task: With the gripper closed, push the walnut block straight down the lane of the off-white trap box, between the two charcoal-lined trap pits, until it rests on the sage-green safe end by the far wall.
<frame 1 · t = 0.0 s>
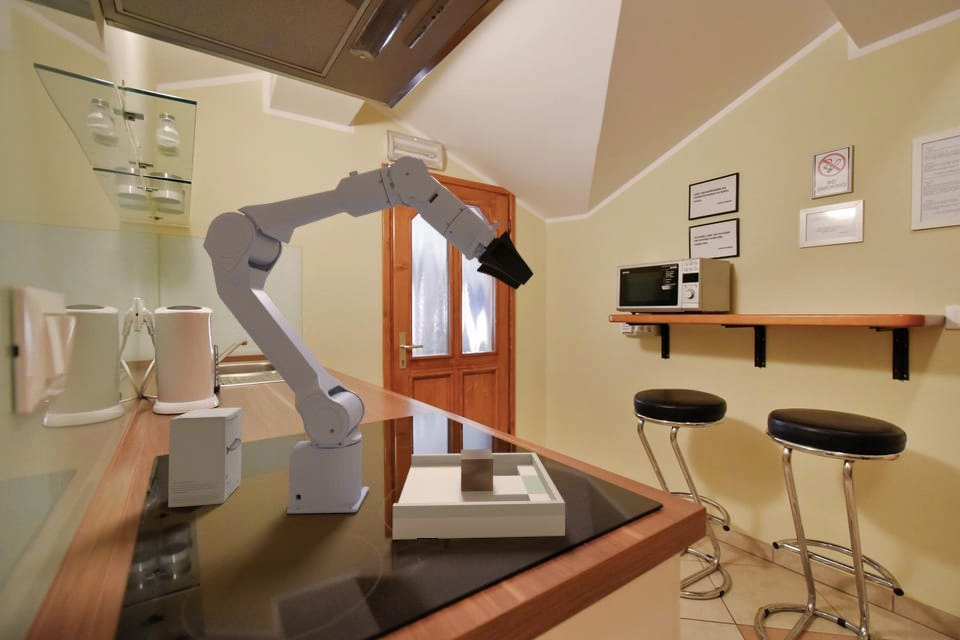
hand: (524, 282, 62), 32 cm above the worktop, tool tilted 50°, fingers open, 7 cm apart
supplement bottle: (328, 456, 82), on the worktop
walnut block: (476, 485, 60), point 2 cm above the worktop, touching trap box
supplement box: (207, 497, 62), on the worktop
trap box: (476, 502, 60), on the worktop
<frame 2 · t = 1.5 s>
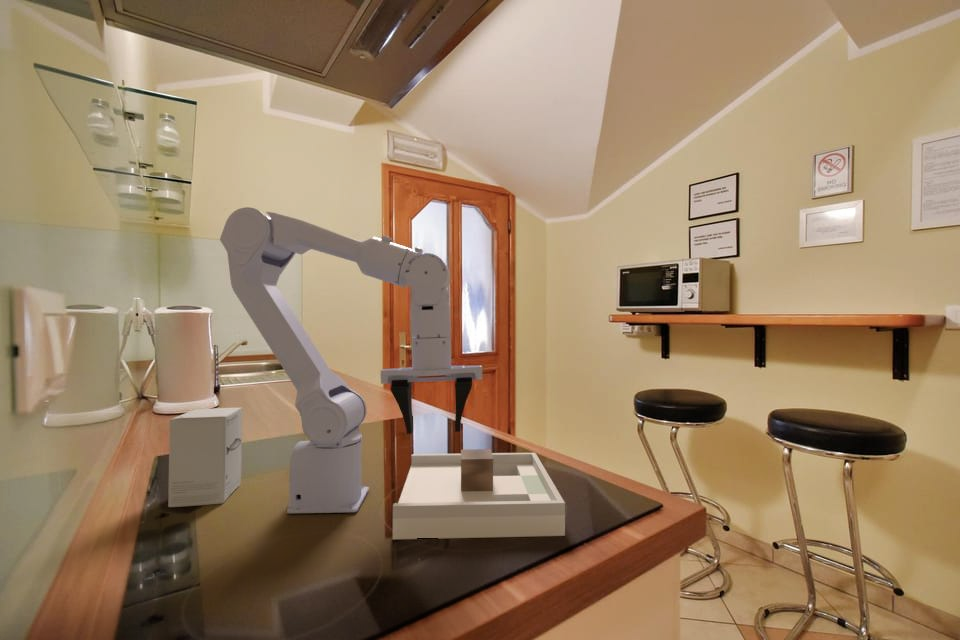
hand: (433, 431, 60), 10 cm above the worktop, tool pointing down, fingers open, 6 cm apart
nothing on the worktop moved.
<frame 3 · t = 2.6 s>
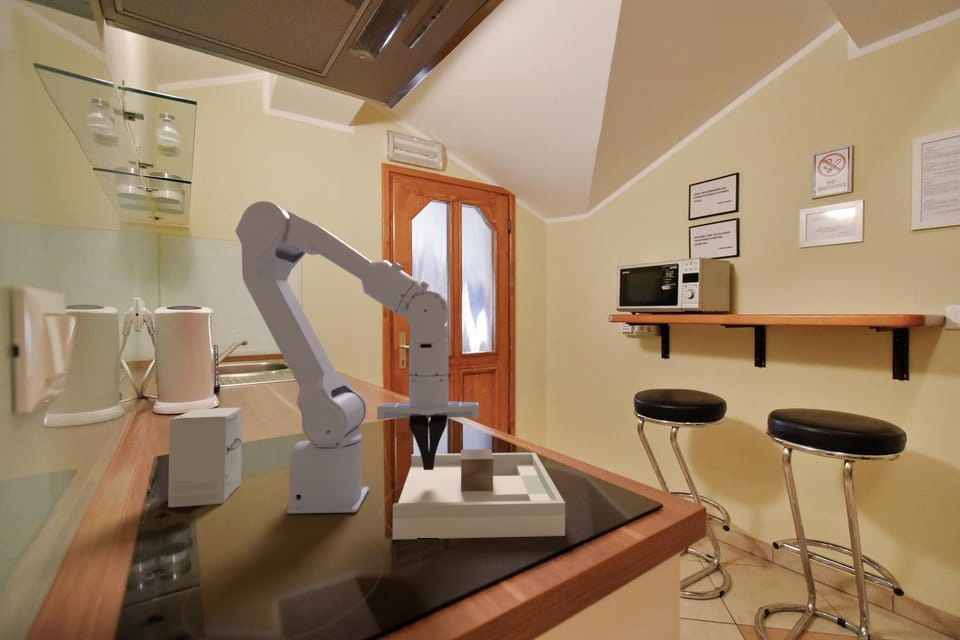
hand: (428, 467, 60), 5 cm above the worktop, tool pointing down, fingers closed
nothing on the worktop moved.
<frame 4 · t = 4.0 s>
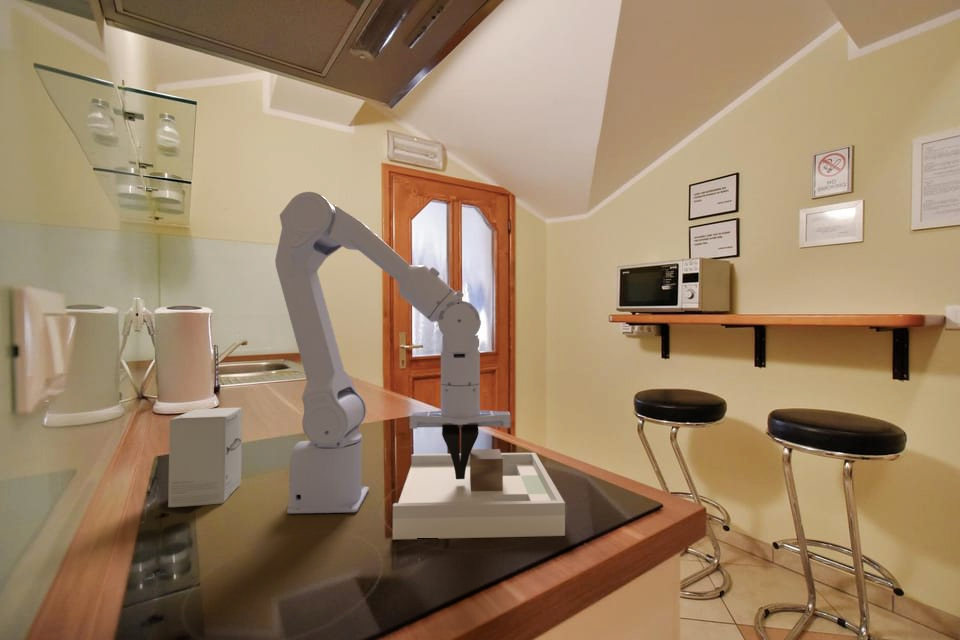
hand: (460, 476, 60), 4 cm above the worktop, tool pointing down, fingers closed
walnut block: (485, 484, 60), point 3 cm above the worktop, touching gripper
everything else where it was.
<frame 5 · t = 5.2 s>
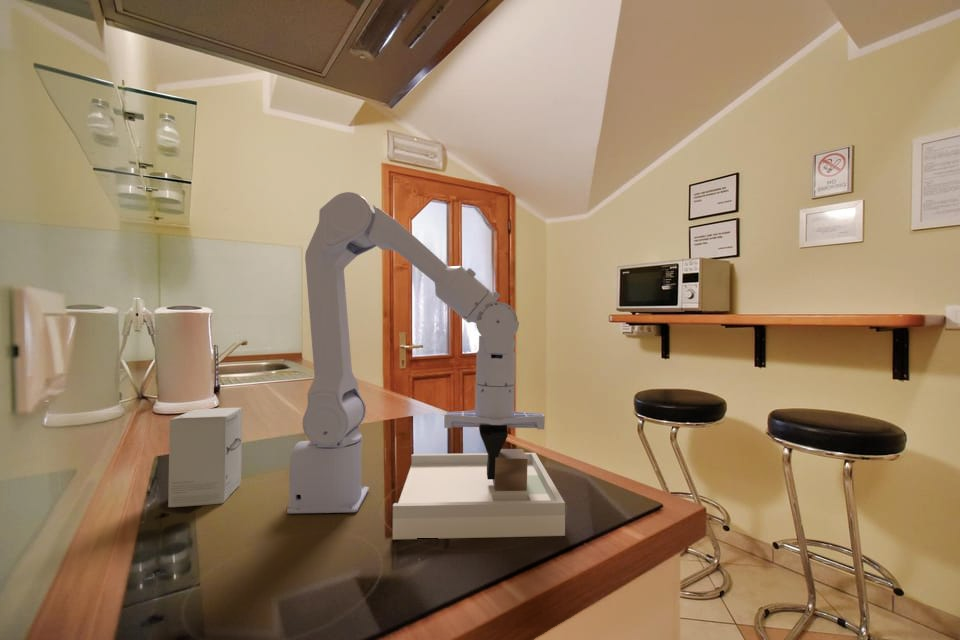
hand: (492, 477, 60), 4 cm above the worktop, tool pointing down, fingers closed, pressing on walnut block
walnut block: (509, 484, 60), point 3 cm above the worktop, touching gripper, trap box
everything else where it was.
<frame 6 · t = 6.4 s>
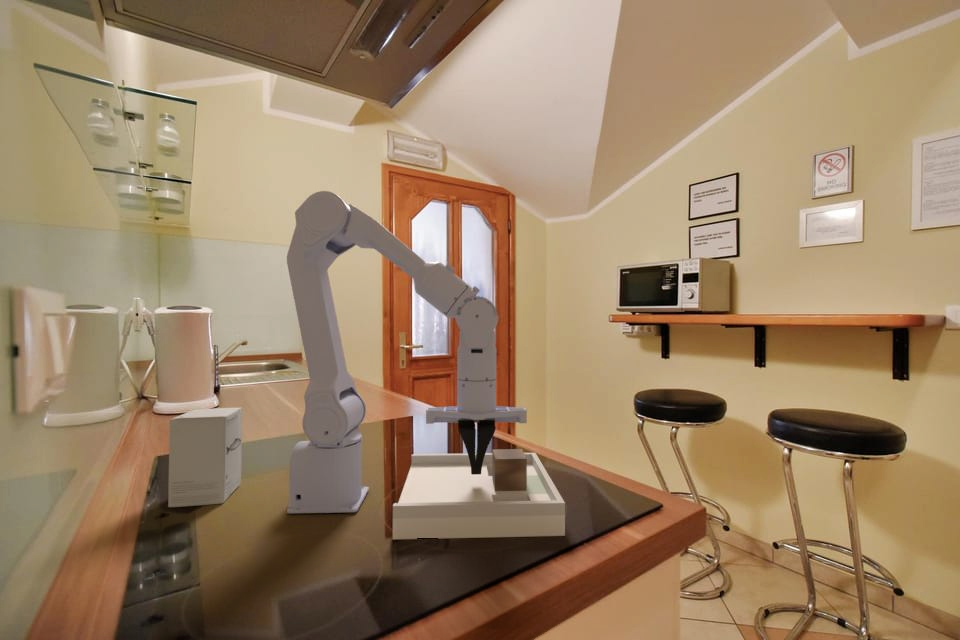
hand: (476, 472, 60), 4 cm above the worktop, tool pointing down, fingers closed
walnut block: (508, 484, 60), point 2 cm above the worktop, touching trap box
everything else where it was.
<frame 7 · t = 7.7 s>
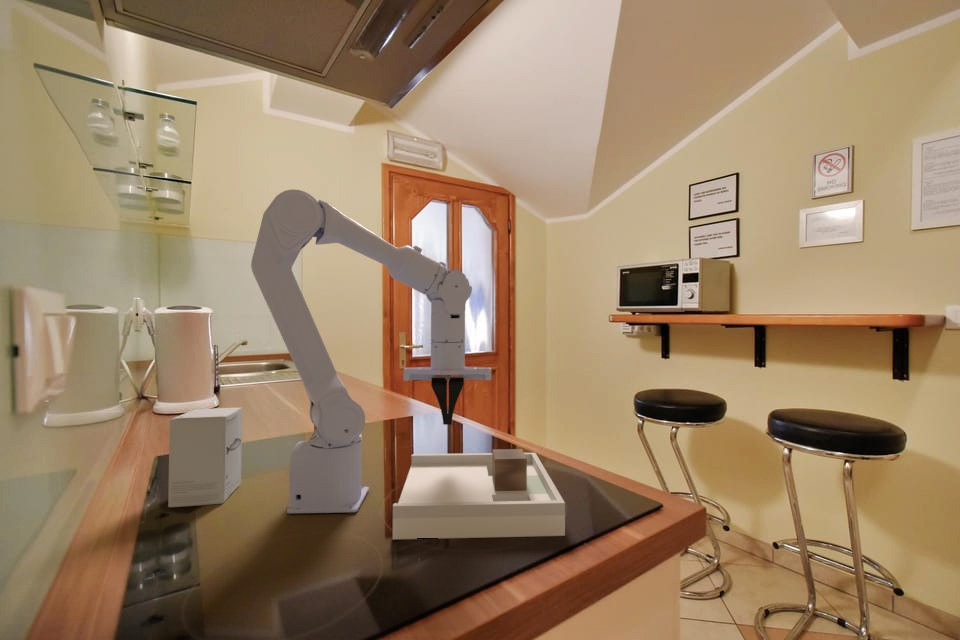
hand: (447, 423, 69), 9 cm above the worktop, tool pointing down, fingers closed
nothing on the worktop moved.
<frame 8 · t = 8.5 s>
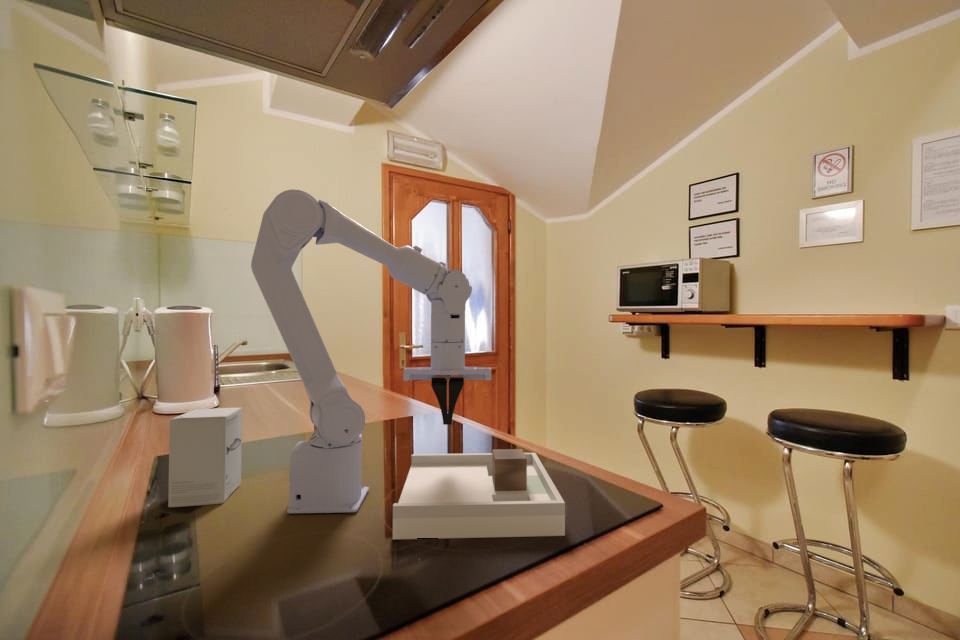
hand: (447, 423, 69), 9 cm above the worktop, tool pointing down, fingers closed
nothing on the worktop moved.
at the end: walnut block 2.6 cm from the target spot, point 2.5 cm above the worktop; walnut block tilted 0° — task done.
